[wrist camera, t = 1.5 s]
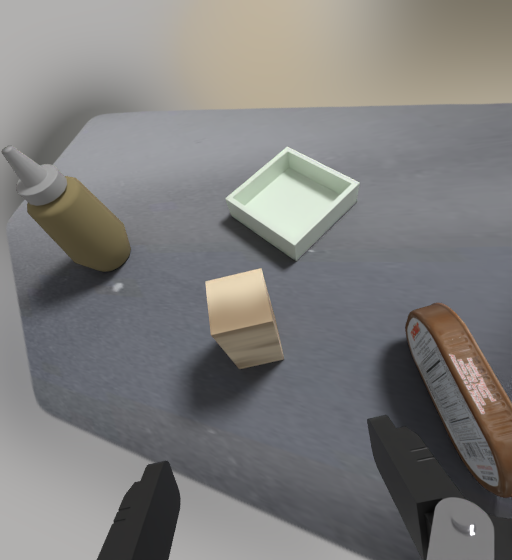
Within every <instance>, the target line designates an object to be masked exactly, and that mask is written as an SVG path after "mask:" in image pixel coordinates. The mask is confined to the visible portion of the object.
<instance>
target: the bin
mask: <svg viewBox="0 0 512 560" xmlns="http://www.w3.org/2000/svg"><path fill="white" fill-rule="evenodd" d="M359 184H360V183H359V182H357V181H355V180H353V179H351V178H349V177H347V176H345V175H343V174H341V173H339V172H337V171H335V170H333V169H331V168H329V167H327V166H325V165H323V164H321V163H319V162H317V161H315V160H313V159H311V158H309V157H307V156H305V155H303V154H301V153H299V152H297V151H295V150H293V149H291V148H289V147H286V148H285V149H284V150H283V151H282V152H280V153H279V154H278V155H277V156H276V157H274V158H273V159H272V160H271V161H270V162H268V163H267V164H266V165H265V166H264V167H262V168H261V169H260V170H259V171H258V172H257V173H255V174H254V175H253V176H252V177H251V178H249V179H248V180H247V181H246V182H245V183H243V184H242V185H241V186H240V187H239V188H237V189H236V190H235V191H234V192H233V193H231V194H230V195H229V196H228V197H227V198H225V199H226V202H227V205H228V208H229V211H230V214H231V216H232V217H234V218H235V219H236V220H238V221H239V222H241V223H242V224H244V225H245V226H246V227H248V228H249V229H251V230H252V231H253V232H255V233H256V234H258V235H259V236H261V237H262V238H263V239H265V240H266V241H268V242H269V243H271V244H272V245H273V246H275V247H276V248H278V249H279V250H280V251H282V252H283V253H285V254H286V255H288V256H289V257H290V258H292V259H293V260H295V261H297V260H298V259H299V258H300V257H301V256H302V255H303V254H304V253H305V252H306V251H307V250H308V249H309V248H310V247H311V246H312V245H313V244H314V243H316V242H317V241H318V240H319V239H320V238H321V237H322V236H323V235H324V234H325V233H326V232H327V231H328V230H329V229H330V228H331V227H332V226H333V225H334V224H335V223H336V222H337V221H338V220H339V219H340V218H341V217H342V216H343V215H344V214H345V213H346V212H347V211H348V210H349V209H350V208H351V207H352V206H353V205H354V204H355V203H356V202H357V197H358V190H359Z"/></svg>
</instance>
